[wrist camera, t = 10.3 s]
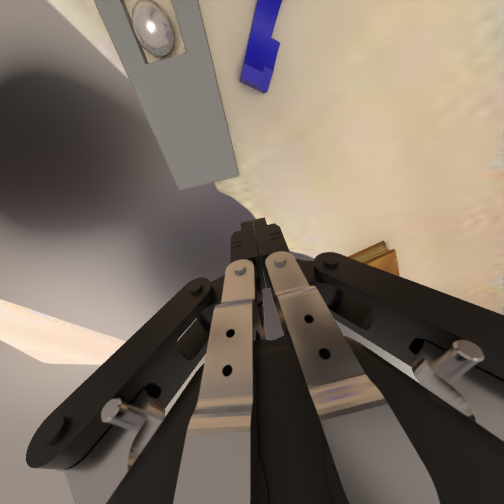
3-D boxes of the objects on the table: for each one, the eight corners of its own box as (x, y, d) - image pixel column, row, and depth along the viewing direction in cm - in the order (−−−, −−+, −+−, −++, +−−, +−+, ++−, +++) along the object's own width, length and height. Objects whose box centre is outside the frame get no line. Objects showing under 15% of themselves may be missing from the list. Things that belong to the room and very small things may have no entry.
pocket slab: (85, -28, 24) (78, -35, 23) (183, -59, 23) (181, -68, 22) (180, 187, 41) (179, 190, 40) (238, 174, 40) (238, 176, 39)
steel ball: (115, -7, 22) (136, 50, 25) (155, -20, 22) (172, 39, 24) (136, 20, 27) (152, 66, 29) (170, 10, 26) (183, 57, 29)
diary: (327, 301, 72) (333, 314, 67) (310, 273, 61) (316, 286, 57) (390, 275, 66) (401, 288, 61) (382, 239, 55) (396, 251, 51)
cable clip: (264, 93, 33) (269, 90, 28) (239, 81, 31) (240, 77, 27) (295, -15, 26) (309, -43, 21) (265, -35, 25) (273, -69, 20)
